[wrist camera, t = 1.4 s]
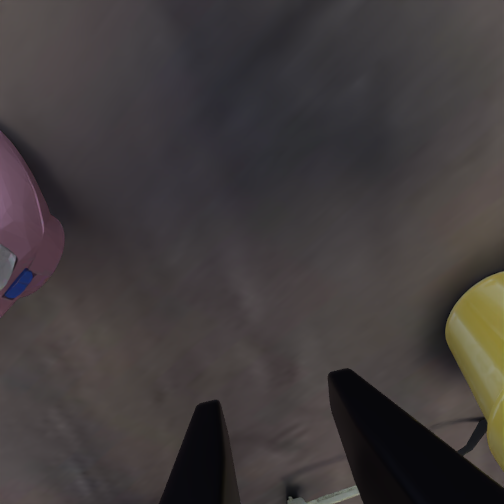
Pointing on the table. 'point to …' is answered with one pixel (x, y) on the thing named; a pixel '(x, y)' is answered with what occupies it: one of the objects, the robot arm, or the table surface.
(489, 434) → the flower pot
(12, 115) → the table surface
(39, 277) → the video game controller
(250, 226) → the table surface
